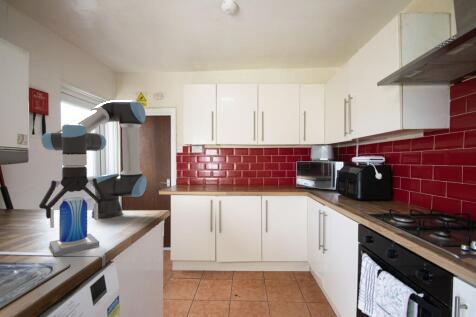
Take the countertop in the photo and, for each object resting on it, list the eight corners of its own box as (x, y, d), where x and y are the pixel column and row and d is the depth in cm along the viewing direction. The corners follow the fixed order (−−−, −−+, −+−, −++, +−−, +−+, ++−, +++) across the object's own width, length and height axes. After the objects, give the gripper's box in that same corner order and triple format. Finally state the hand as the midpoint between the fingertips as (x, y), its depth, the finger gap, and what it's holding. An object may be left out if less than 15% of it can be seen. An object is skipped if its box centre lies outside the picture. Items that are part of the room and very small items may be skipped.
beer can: (89, 241, 85) (89, 198, 85) (61, 248, 79) (61, 201, 79) (84, 236, 91) (84, 196, 91) (57, 241, 85) (57, 198, 85)
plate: (90, 237, 95) (90, 233, 95) (99, 245, 86) (99, 241, 86) (49, 245, 85) (49, 241, 85) (54, 256, 76) (54, 251, 76)
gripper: (108, 164, 97) (108, 214, 97) (28, 167, 79) (29, 228, 80) (114, 165, 92) (114, 218, 92) (30, 168, 74) (31, 233, 74)
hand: (75, 223), depth 86 cm, fingers open, 13 cm apart
